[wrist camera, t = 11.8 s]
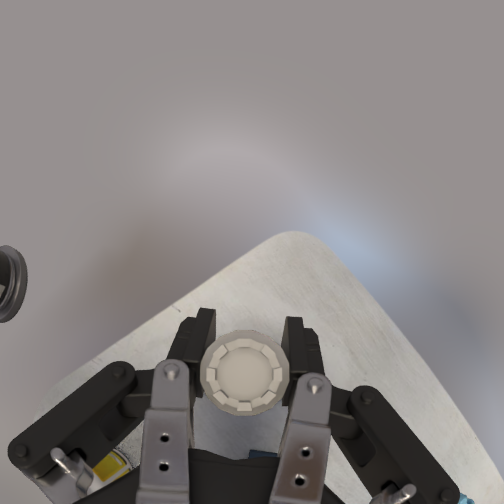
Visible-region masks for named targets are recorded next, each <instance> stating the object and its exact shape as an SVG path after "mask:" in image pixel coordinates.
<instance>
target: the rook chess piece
mask: <svg viewBox="0 0 504 504" xmlns="http://www.w3.org/2000/svg"><path fill="white" fill-rule="evenodd" d="M200 382H201V384H202V387H203V389H204V391H205V394H206V396H207V397H208V398H209V399H210V400H211V401H212V402H213V403H214V404H215V405H216V406H217V407H218V408H219V409H221V410H223V411H226V412H228V413H231V414H233V415H236V416H254V415H257V414H259V413H262V412H264V411H267V410H269V409H271V408H272V407H273V406H274V405H275V404H276V403H277V402H278V401H279V400H280V399H281V398H282V397H283V395H284V393H285V391H286V388H287V386H288V383H289V363H288V360H287V358H286V356H285V354H284V352H283V349H282V348H281V347H280V346H279V345H278V344H277V343H276V342H275V341H274V340H272V339H271V338H270V337H269V336H266V335H264V334H261V333H259V332H256V331H254V330H235V331H233V332H230V333H228V334H225V335H223V336H220V337H219V338H218V339H217V340H215V341H214V342H213V343H212V344H211V345H210V346H209V347H208V348H207V350H206V352H205V354H204V356H203V359H202V361H201V365H200Z"/></svg>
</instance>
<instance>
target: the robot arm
mask: <svg viewBox="0 0 504 504" xmlns="http://www.w3.org/2000/svg"><path fill="white" fill-rule="evenodd" d="M14 282H15V267H14V263H13V260H12V258H11V257H10V256H9V255H8V254H7V253H5V252H3V251H1V250H0V310H2V309H3V308H4V307H5V306H6V304H7V303H8V301H9V299H10V297H11V294H12V291H13V288H14ZM215 339H216V310H215V309H207V308H200V309H199V311H198V314H197V317H196V318H194V317H187V318H186V319H185V320H184V321H183V322H181V324H180V326H179V329H178V332H177V334H176V336H175V338H174V341H173V343H172V346H171V348H170V351H169V353H168V356H167V358H166V360H163V361H161V362H160V363H158V364H157V366H156V367H155V369H151V370H137V371H135V369H134V367H133V366H132V365H131V364H129V363H127V362H124V361H116V362H112V363H110V364H109V365H107V366H106V367H105V368H103V369H102V370H101V371H100V372H98V373H97V374H96V375H94V376H93V377H92V378H91V379H89V380H88V381H87V382H86V383H84V384H83V385H82V386H80V387H79V388H78V389H77V390H75V391H74V392H73V393H72V394H70V395H69V396H68V397H66V398H65V399H64V400H63V401H61V402H60V403H59V404H58V405H56V406H55V407H54V408H53V409H51V410H50V411H49V412H47V413H46V414H45V415H44V416H42V417H41V418H40V419H39V420H37V421H36V422H35V423H33V424H32V425H31V426H30V427H28V428H27V429H26V430H25V431H23V432H22V433H21V434H19V435H18V436H17V437H16V438H14V439H13V440H12V441H11V442H10V444H9V446H8V457H9V459H10V461H11V463H12V464H13V465H14V466H16V467H17V468H18V469H19V470H20V471H22V473H23V474H24V475H25V476H26V477H28V478H29V479H30V480H32V481H33V482H34V483H35V484H36V485H37V486H38V487H39V488H40V489H41V491H42V492H43V493H44V494H45V495H46V497H47V498H48V499H49V500H50V501H51V502H52V503H53V504H345V503H344V502H343V501H342V500H341V499H340V498H339V497H338V496H337V495H335V494H334V493H333V492H332V491H331V490H330V489H329V488H328V487H327V486H326V485H325V484H324V480H325V474H326V467H327V460H328V453H329V445H330V437H331V435H332V437H333V439H334V440H335V442H336V443H337V445H338V446H339V448H340V449H341V451H342V453H343V454H344V456H345V457H346V459H347V460H348V462H349V463H350V465H351V466H352V468H353V469H354V471H355V472H356V474H357V475H358V477H359V478H360V480H361V481H362V483H363V484H364V486H365V487H366V489H367V490H368V492H369V493H370V495H371V496H372V500H371V501H370V503H369V504H458V502H459V499H460V491H459V488H458V486H457V485H456V484H455V483H454V481H453V480H452V479H451V478H450V476H449V475H448V474H447V473H446V472H445V470H444V469H443V468H442V467H441V465H440V464H439V463H438V462H437V461H436V459H435V458H434V457H433V456H432V455H431V453H430V452H429V451H428V450H427V448H426V447H425V446H424V445H423V444H422V442H421V441H420V440H419V439H418V438H417V436H416V435H415V434H414V433H413V431H412V430H411V429H410V428H409V427H408V425H407V424H406V423H405V422H404V421H403V419H402V418H401V417H400V416H399V415H398V413H397V412H396V411H395V410H394V409H393V407H392V406H391V405H390V404H389V403H388V401H387V400H386V399H385V398H384V397H383V395H382V394H381V393H380V392H379V391H378V390H377V389H375V388H373V387H371V386H358V387H356V388H355V389H354V390H353V391H352V392H351V391H347V390H343V389H340V388H337V387H335V386H333V385H332V384H331V382H330V380H329V379H328V378H327V377H326V376H325V372H324V367H323V361H322V356H321V352H320V345H319V340H318V335H317V334H316V333H315V332H314V330H313V329H312V328H304V326H303V319H302V317H290V316H287V317H286V320H285V326H284V331H283V337H282V343H281V348H282V349H283V352H284V354H285V356H286V358H287V360H288V363H289V383H288V386H287V388H286V391H285V393H284V395H283V397H282V406H288V415H287V418H286V423H285V427H284V431H283V435H282V438H281V442H280V446H279V450H278V453H277V457H267V456H262V457H255V458H248V459H240V460H232V459H229V458H226V457H223V456H220V455H217V454H214V453H212V452H209V451H206V450H200V449H195V442H194V409H193V406H194V403H195V399H196V397H198V398H202V397H203V393H204V389H203V387H202V384H201V382H200V365H201V361H202V359H203V356H204V354H205V352H206V350H207V348H208V347H209V346H210V345H211V344H212V343H213V342H214V341H215ZM143 420H144V427H143V437H142V448H141V460H140V465H139V466H138V467H136V468H135V469H133V470H131V471H130V472H128V473H126V474H125V475H123V476H121V477H120V478H118V479H116V480H115V481H113V482H111V483H109V484H108V485H106V486H104V487H102V488H100V489H99V490H97V491H95V492H93V493H91V494H89V495H87V491H88V488H89V487H90V486H91V484H92V482H93V479H94V473H93V470H92V469H93V468H94V467H95V466H96V465H97V464H98V463H99V462H101V461H102V460H103V459H104V458H105V457H106V456H107V455H108V454H109V453H110V452H111V451H112V450H113V449H114V448H115V447H116V446H117V445H118V444H119V443H120V442H121V441H122V440H123V439H124V438H125V437H126V436H128V435H129V434H130V433H131V432H132V431H133V430H134V429H135V428H136V427H137V426H138V425H139V424H140V423H141V422H142V421H143Z"/></svg>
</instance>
